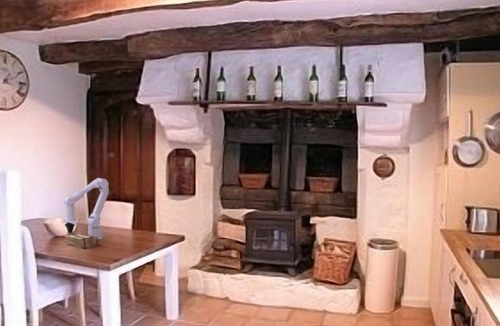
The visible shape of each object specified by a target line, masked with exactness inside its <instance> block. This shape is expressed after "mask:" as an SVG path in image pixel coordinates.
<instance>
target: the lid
mask: <svg viewBox="0 0 500 326" xmlns="http://www.w3.org/2000/svg"><path fill="white" fill-rule="evenodd" d="M85 235H86V234H85ZM85 235H81V234H80V233H77V231H72V232H71V233H68V232H67V233H66V234H65V235H64V238H67V239H68V236H69V237H73V238H78V239H87V238H91V237H90V236H85Z"/></svg>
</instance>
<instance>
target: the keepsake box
mask: <svg viewBox="0 0 500 326" xmlns="http://www.w3.org/2000/svg"><path fill="white" fill-rule="evenodd" d="M80 235H85V236H90V235H88V234H84V233H81V234H80ZM90 237H91V238H87V239H78V238H73V237H69V236H68V238H67V245H68V246H69V247H70V246H71V247H75V248H79V249H83V250H84V249H86V250H87V249H90V248H95V247H99V240H98V237H94V236H90Z"/></svg>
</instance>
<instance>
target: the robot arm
mask: <svg viewBox="0 0 500 326" xmlns="http://www.w3.org/2000/svg"><path fill="white" fill-rule="evenodd" d="M109 184H110V183H109V182H108V180H107V179H106V178H100V177H96V178H95V179H94V180H92V181H91V182H90V183H89V184H87V185H86V186H85V187H83V188H81V189H78V190H75V192H74V193H72V194H70V195H69V196H67V197H66V198H65V199H64V200H63V203H64V204H65V218H64V219H62V223H64V226H65V227H66V230H67V233H71V232H74V227H75V226H76V225H78V221H76V220H75V205H76V203H77V202H78V201H80V200H81V199H82V198H84V197H85V194H86V193H88V192H90V191H91V190H93V189H95V188H97V189H98V191H99V192H100V194H99V195H98V198H97V200H96V203H95V206H94V208H93V211H92V213H91V214H90V216H89V217H88V218H87V219H86V223H87V226H88V227H87V235H90V236H94V237H98V241H100V240H104V237H103V227H102V226H101V225H100V224H101V213H102V211H103V208H104V206H105V203H106V200H107V198H108V195H109V192H110V189H109Z"/></svg>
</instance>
